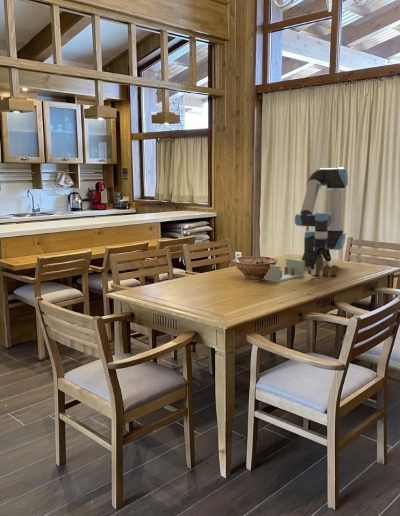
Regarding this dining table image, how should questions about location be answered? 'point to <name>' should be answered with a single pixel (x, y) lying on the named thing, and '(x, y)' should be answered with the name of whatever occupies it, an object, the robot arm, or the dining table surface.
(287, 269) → the peg stand
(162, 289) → the dining table surface
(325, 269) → the wooden block set
